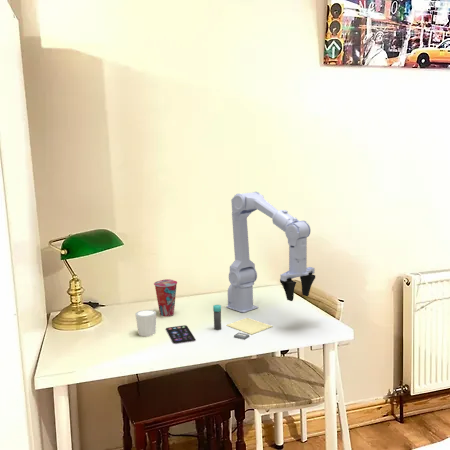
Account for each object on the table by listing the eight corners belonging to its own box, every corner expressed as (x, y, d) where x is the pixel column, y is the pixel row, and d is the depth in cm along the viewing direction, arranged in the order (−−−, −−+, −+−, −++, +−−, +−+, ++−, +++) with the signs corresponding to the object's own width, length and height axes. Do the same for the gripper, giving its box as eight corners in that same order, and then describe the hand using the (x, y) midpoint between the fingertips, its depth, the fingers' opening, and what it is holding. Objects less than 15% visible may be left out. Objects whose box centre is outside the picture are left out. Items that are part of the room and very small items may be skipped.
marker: (212, 328, 170) (211, 305, 169) (218, 326, 172) (217, 304, 171) (217, 330, 168) (216, 307, 167) (223, 328, 170) (222, 305, 169)
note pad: (226, 325, 173) (226, 324, 173) (247, 318, 179) (247, 317, 179) (251, 334, 164) (251, 333, 164) (272, 326, 171) (272, 326, 171)
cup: (181, 315, 184) (180, 283, 182) (159, 319, 180) (158, 287, 179) (173, 308, 192) (171, 278, 190) (151, 312, 189) (150, 281, 187)
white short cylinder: (134, 331, 169) (133, 311, 168) (154, 328, 172) (153, 308, 171) (139, 338, 163) (138, 317, 162) (159, 334, 166) (158, 314, 165)
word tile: (233, 337, 162) (233, 335, 162) (238, 334, 165) (238, 332, 165) (244, 339, 160) (244, 337, 160) (249, 336, 163) (249, 334, 162)
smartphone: (186, 324, 174) (196, 340, 160) (186, 326, 174) (196, 342, 160) (164, 327, 172) (173, 344, 158) (164, 329, 172) (173, 345, 158)
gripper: (291, 263, 159) (291, 305, 161) (321, 256, 168) (321, 295, 170) (275, 260, 164) (275, 300, 166) (305, 253, 173) (305, 291, 175)
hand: (297, 297), depth 169 cm, fingers open, 7 cm apart
